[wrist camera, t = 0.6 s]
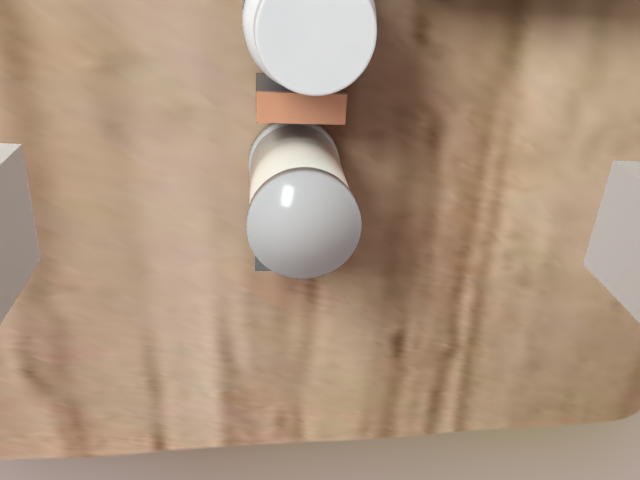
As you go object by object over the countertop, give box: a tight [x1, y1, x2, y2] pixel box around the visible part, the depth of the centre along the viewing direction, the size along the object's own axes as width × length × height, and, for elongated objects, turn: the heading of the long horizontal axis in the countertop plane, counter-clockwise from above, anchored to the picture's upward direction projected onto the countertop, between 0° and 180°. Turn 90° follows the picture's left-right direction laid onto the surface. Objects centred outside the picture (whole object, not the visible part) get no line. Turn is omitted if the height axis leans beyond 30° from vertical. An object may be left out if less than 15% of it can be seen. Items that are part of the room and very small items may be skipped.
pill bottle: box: [243, 0, 377, 96], centre depth 27 cm, size 6×6×10 cm
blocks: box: [255, 73, 347, 271], centre depth 30 cm, size 27×4×4 cm, turn 177°
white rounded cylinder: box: [247, 123, 362, 279], centre depth 32 cm, size 5×5×9 cm
